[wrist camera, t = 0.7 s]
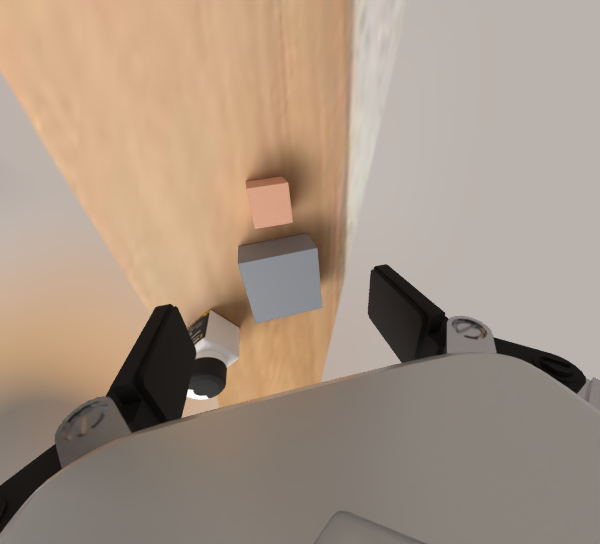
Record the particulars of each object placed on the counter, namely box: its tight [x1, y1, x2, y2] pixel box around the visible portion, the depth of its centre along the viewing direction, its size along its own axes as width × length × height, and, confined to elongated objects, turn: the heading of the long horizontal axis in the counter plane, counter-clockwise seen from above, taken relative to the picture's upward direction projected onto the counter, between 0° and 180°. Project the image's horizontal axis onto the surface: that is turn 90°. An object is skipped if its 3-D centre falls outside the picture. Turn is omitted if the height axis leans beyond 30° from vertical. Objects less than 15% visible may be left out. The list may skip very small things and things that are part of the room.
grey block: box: [238, 233, 322, 323], centre depth 37 cm, size 11×11×6 cm
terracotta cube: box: [246, 176, 293, 229], centre depth 31 cm, size 5×5×5 cm
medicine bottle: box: [187, 310, 240, 399], centre depth 37 cm, size 7×7×12 cm
